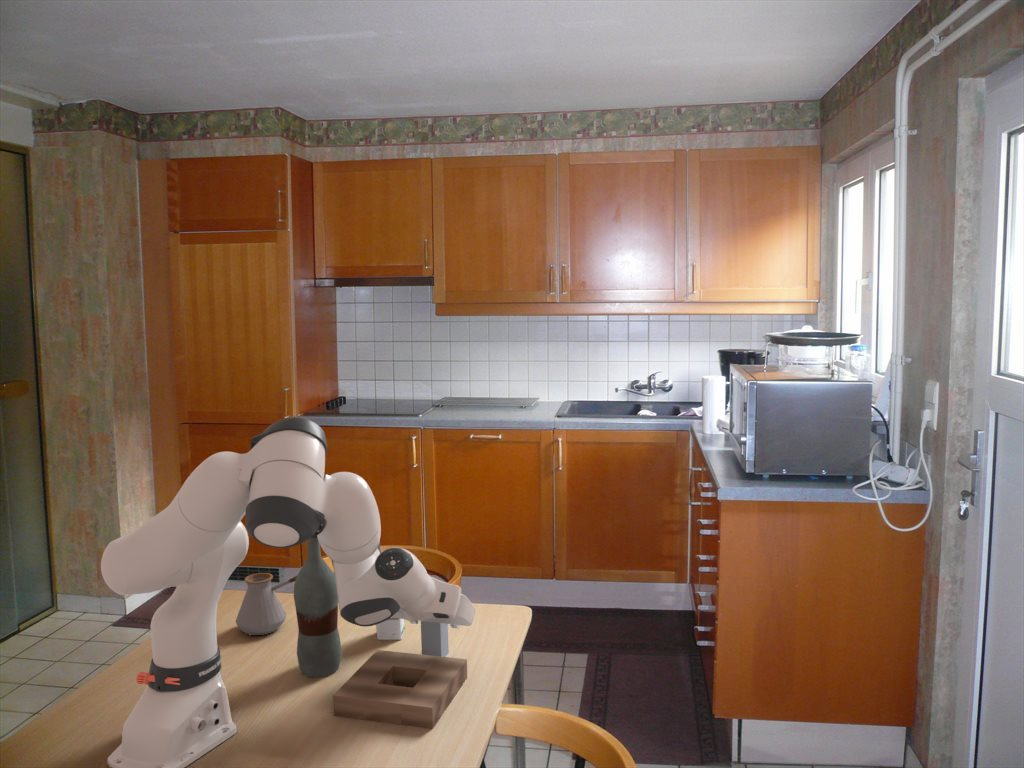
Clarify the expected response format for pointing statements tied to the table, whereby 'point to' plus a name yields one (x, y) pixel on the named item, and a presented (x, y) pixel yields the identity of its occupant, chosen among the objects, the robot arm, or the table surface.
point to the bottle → (317, 615)
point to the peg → (434, 639)
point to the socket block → (401, 688)
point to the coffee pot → (261, 606)
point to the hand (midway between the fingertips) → (435, 622)
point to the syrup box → (391, 629)
